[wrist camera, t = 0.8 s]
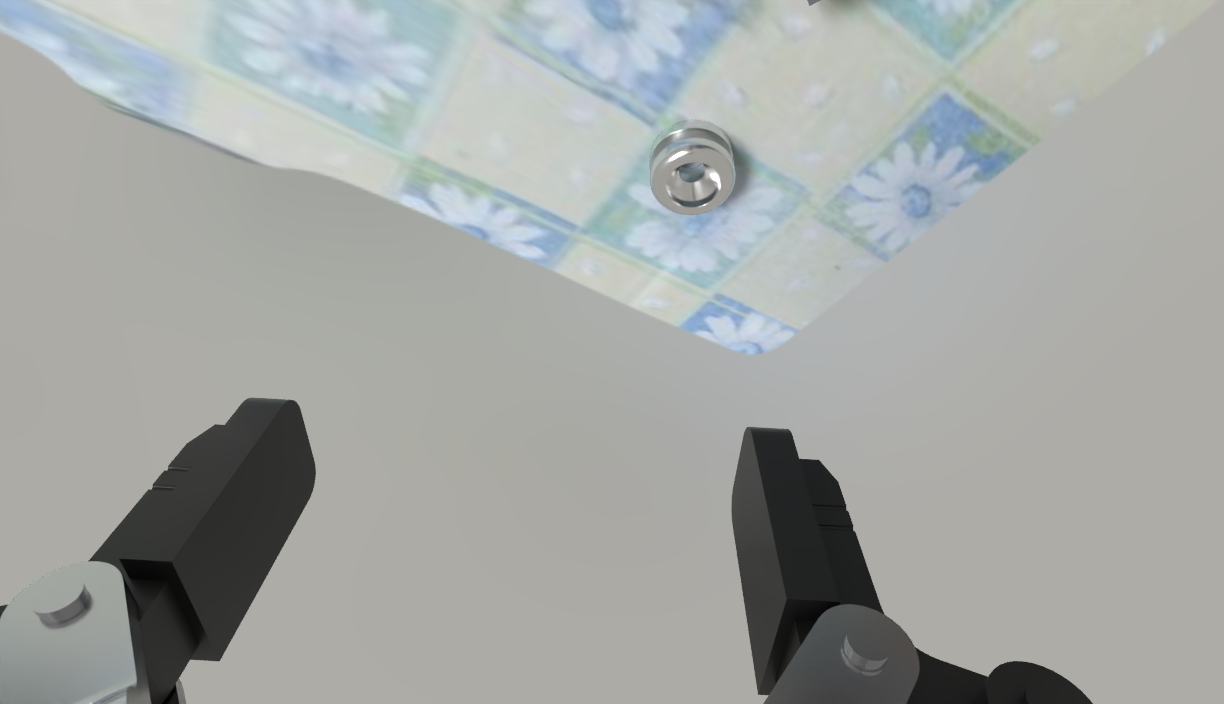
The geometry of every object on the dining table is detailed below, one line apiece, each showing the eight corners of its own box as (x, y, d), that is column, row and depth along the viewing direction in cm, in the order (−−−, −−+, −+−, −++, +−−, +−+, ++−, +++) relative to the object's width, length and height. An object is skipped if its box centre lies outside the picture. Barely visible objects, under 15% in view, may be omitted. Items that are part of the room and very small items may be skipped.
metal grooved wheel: (721, 107, 39) (638, 133, 40) (725, 137, 37) (638, 163, 38) (740, 177, 42) (663, 198, 44) (744, 207, 40) (664, 228, 42)
